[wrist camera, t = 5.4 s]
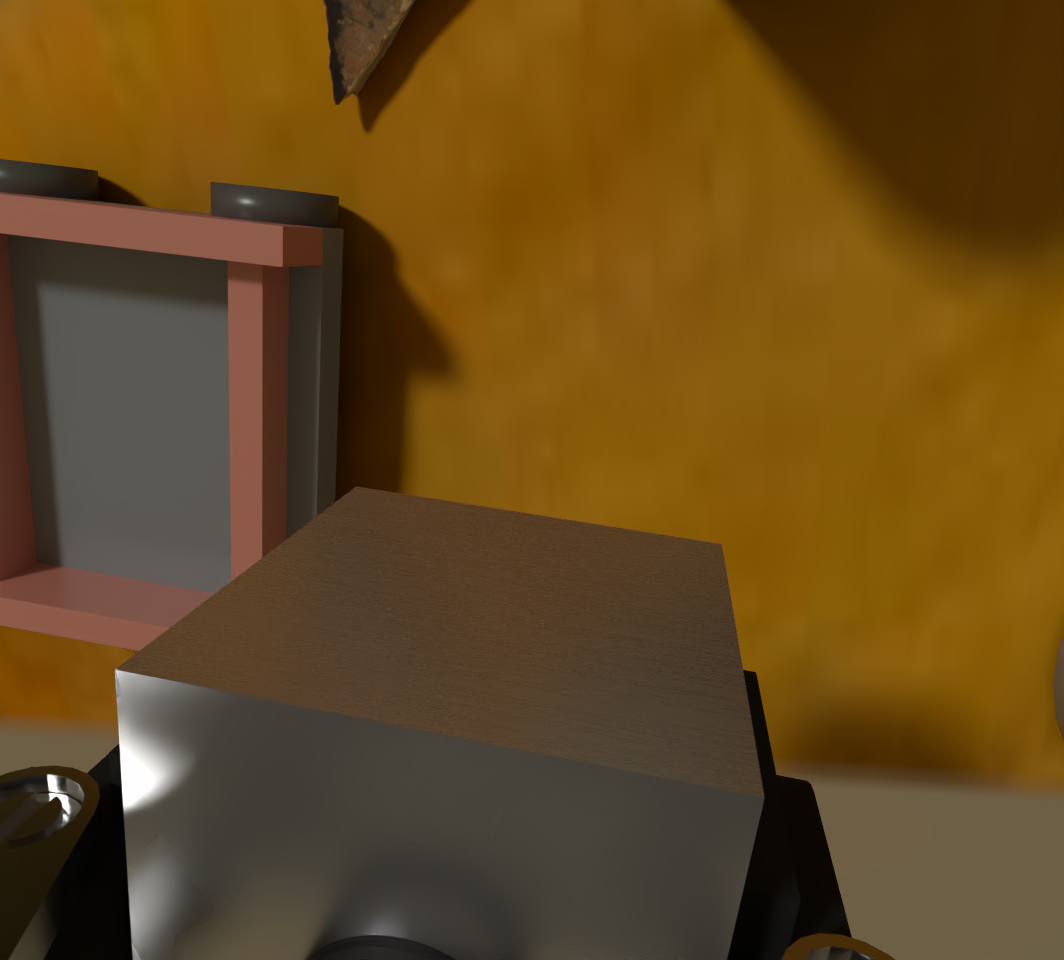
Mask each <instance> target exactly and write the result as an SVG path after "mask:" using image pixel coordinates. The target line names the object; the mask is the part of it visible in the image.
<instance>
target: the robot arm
mask: <svg viewBox="0 0 1064 960" xmlns="http://www.w3.org/2000/svg"><path fill="white" fill-rule="evenodd" d="M743 673H744V679H745V685H746V691H747V697H748V702H749V708H750V714H751V720H752V726H753V732H754V738H755V744H756V750H757V756H758V762H759V768H760V774H761V780H762V786H763V792H764V803H763V807H762V811H761V816H760V820H759V824H758V828H757V833H756V837H755V841H754V846H753V850H752V854H751V858H750V863H749V867H748V871H747V876H746V880H745V884H744V889H743V893H742V897H741V901H740V906H739V910H738V914H737V919H736V923H735V927H734V931H733V936H732V940H731V944H730V949H729V953H728V957H727V960H895V959H893V958H892V957H891V956H890V955H888V954H886V953H884V952H883V951H881V950H879V949H877V948H875V947H873V946H871V945H870V944H868V943H866V942H863V941H860V940H856V939H853V938H852V937H851V933H850V929H849V926H848V921H847V917H846V914H845V910H844V906H843V902H842V898H841V894H840V891H839V887H838V883H837V879H836V875H835V871H834V867H833V863H832V860H831V856H830V852H829V848H828V844H827V840H826V836H825V833H824V829H823V825H822V821H821V817H820V813H819V809H818V806H817V802H816V798H815V794H814V791H813V789H812V786H811V784H810V783H809V782H808V781H805V780H800V779H794V778H789V777H784V776H779V775H776V771H775V766H774V761H773V756H772V751H771V746H770V741H769V736H768V731H767V726H766V720H765V715H764V710H763V705H762V700H761V695H760V690H759V685H758V680H757V675H756V672H752V671H746V670H743ZM1054 696H1055V711H1056V717H1057V720H1058V723H1059V726H1060V729H1061V732H1062V736H1063V739H1064V638H1063V641H1062V643H1061V646H1060V648H1059V653H1058V659H1057V665H1056V671H1055V677H1054ZM0 960H133V957H132V940H131V924H130V907H129V891H128V875H127V858H126V842H125V826H124V809H123V793H122V777H121V760H120V744H118V745H117V746H116V747H115V748H114V749H113V750H112V751H110V752H109V754H108V755H107V756H106V757H105V758H103V759H102V760H101V761H100V762H99V763H98V764H97V765H96V766H95V767H94V768H92V769H91V770H90V771H89V772H88V773H85V772H82V771H80V770H78V769H75V768H71V767H63V766H40V767H30V768H26V769H21V770H17V771H13V772H9V773H6V774H3V775H1V776H0Z"/></svg>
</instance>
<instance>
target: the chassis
mask: <svg viewBox="0 0 1064 960" xmlns="http://www.w3.org/2000/svg"><path fill="white" fill-rule="evenodd" d="M338 211H339V197H336V196H329V195H322V194H314V193H306V192H298V191H289V190H281V189H272V188H263V187H254V186H245V185H235V184H226V183H215V182H211V214H206V213H197V212H188V211H179V210H170V209H161V208H153V207H144V206H135V205H126V204H117V203H108V202H100V201H99V185H98V171H95V170H87V169H80V168H72V167H63V166H55V165H47V164H38V163H30V162H21V161H13V160H4V159H0V625H2V626H8V627H13V628H18V629H24V630H29V631H34V632H40V633H45V634H51V635H56V636H61V637H67V638H72V639H77V640H83V641H88V642H94V643H99V644H104V645H110V646H115V647H120V648H126V649H131V650H137V651H140V650H141V649H143V648H144V647H145V646H147V645H148V644H149V643H151V642H152V641H153V640H155V639H156V638H157V637H158V636H160V635H161V634H162V633H164V632H165V631H166V630H168V629H169V628H170V627H172V626H173V625H174V624H176V623H177V622H178V621H180V620H181V619H182V618H184V617H185V616H186V615H188V614H189V613H190V612H191V611H193V610H194V609H195V608H197V607H198V606H199V605H201V604H202V603H203V602H205V601H206V600H207V599H209V598H210V597H211V596H213V595H214V594H215V593H217V592H218V591H219V590H220V589H222V588H223V587H224V586H226V585H227V584H228V583H230V582H231V581H232V580H234V579H235V578H236V577H238V576H239V575H240V574H242V573H243V572H244V571H246V570H247V569H248V568H249V567H251V566H252V565H253V564H255V563H256V562H257V561H259V560H260V559H261V558H263V557H264V556H265V555H267V554H268V553H269V552H271V551H272V550H273V549H275V548H276V547H277V546H278V545H280V544H281V543H282V542H284V541H285V540H286V539H288V538H289V537H290V536H292V535H293V534H294V533H296V532H297V531H298V530H300V529H301V528H302V527H304V526H305V525H306V524H307V523H309V522H310V521H311V520H313V519H314V518H315V517H317V516H318V515H319V514H321V513H322V512H323V511H325V510H326V509H327V508H329V507H330V506H331V505H333V504H334V503H335V492H336V459H337V427H338V395H339V363H340V331H341V299H342V266H343V234H344V229H338Z"/></svg>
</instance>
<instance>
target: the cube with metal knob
mask: <svg viewBox="0 0 1064 960" xmlns="http://www.w3.org/2000/svg"><path fill="white" fill-rule="evenodd" d="M115 679H116V695H117V711H118V728H119V744H120V760H121V777H122V793H123V809H124V826H125V842H126V858H127V875H128V891H129V907H130V924H131V940H132V957H133V960H727V957H728V953H729V949H730V944H731V940H732V936H733V931H734V927H735V923H736V919H737V914H738V910H739V906H740V901H741V897H742V893H743V889H744V884H745V880H746V876H747V871H748V867H749V863H750V858H751V854H752V850H753V846H754V841H755V837H756V833H757V828H758V824H759V820H760V816H761V811H762V807H763V803H764V792H763V786H762V780H761V774H760V768H759V762H758V756H757V750H756V744H755V738H754V732H753V726H752V720H751V714H750V708H749V702H748V697H747V691H746V685H745V679H744V673H743V667H742V661H741V655H740V649H739V643H738V637H737V631H736V625H735V619H734V613H733V607H732V601H731V596H730V590H729V584H728V578H727V572H726V566H725V560H724V554H723V548H722V544H718V543H712V542H705V541H699V540H693V539H686V538H680V537H674V536H667V535H661V534H655V533H648V532H642V531H636V530H629V529H623V528H617V527H610V526H604V525H598V524H591V523H585V522H579V521H572V520H566V519H560V518H553V517H547V516H541V515H534V514H528V513H522V512H515V511H509V510H503V509H496V508H490V507H484V506H477V505H471V504H465V503H458V502H452V501H446V500H439V499H433V498H427V497H420V496H414V495H407V494H401V493H395V492H388V491H382V490H376V489H369V488H363V487H357V486H356V487H355V488H354V489H352V490H351V491H350V492H348V493H347V494H346V495H344V496H343V497H342V498H340V499H339V500H338V501H336V502H335V503H334V504H333V505H331V506H330V507H329V508H327V509H326V510H325V511H323V512H322V513H321V514H319V515H318V516H317V517H315V518H314V519H313V520H311V521H310V522H309V523H307V524H306V525H305V526H304V527H302V528H301V529H300V530H298V531H297V532H296V533H294V534H293V535H292V536H290V537H289V538H288V539H286V540H285V541H284V542H282V543H281V544H280V545H278V546H277V547H276V548H275V549H273V550H272V551H271V552H269V553H268V554H267V555H265V556H264V557H263V558H261V559H260V560H259V561H257V562H256V563H255V564H253V565H252V566H251V567H249V568H248V569H247V570H246V571H244V572H243V573H242V574H240V575H239V576H238V577H236V578H235V579H234V580H232V581H231V582H230V583H228V584H227V585H226V586H224V587H223V588H222V589H220V590H219V591H218V592H217V593H215V594H214V595H213V596H211V597H210V598H209V599H207V600H206V601H205V602H203V603H202V604H201V605H199V606H198V607H197V608H195V609H194V610H193V611H191V612H190V613H189V614H188V615H186V616H185V617H184V618H182V619H181V620H180V621H178V622H177V623H176V624H174V625H173V626H172V627H170V628H169V629H168V630H166V631H165V632H164V633H162V634H161V635H160V636H158V637H157V638H156V639H155V640H153V641H152V642H151V643H149V644H148V645H147V646H145V647H144V648H143V649H141V650H140V651H139V652H137V653H136V654H135V655H133V656H132V657H131V658H129V659H128V660H127V661H126V662H124V663H123V664H122V665H120V666H119V667H118V668H116V669H115Z"/></svg>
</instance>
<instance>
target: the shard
mask: <svg viewBox="0 0 1064 960" xmlns="http://www.w3.org/2000/svg"><path fill="white" fill-rule="evenodd" d="M415 1H416V0H323V3H324V6H325V12H326V21H327V26H328V40H329V46H330V53H329V67H328V68H329V71H330V76H331V80H332V85H333V93H334V101H335V104H336V105H339V104H340V103H341V102H342V101H343V99H345V98H347V97H348V96H350V95H351V94H352V93H353V94H354V95H358V94H359V92H360V91H361V90H362V88H363V87H364V85H365V83H366V80H367V79H368V77H369V76H370V74H371V73H372V72H373V71H374V69H375V67H376V66H377V64H378V63H379V61H380V60H381V59H382V58H383V56H384V55H385V53H386V51H387V50H388V48H389V47H390V45H391V43H392V41H393V39H394V37H395V36H396V34H397V32H398V30H399V28H400V26H401V24H402V22H403V21H404V19H405V18H406V17H407V15H408V13H409V11H410V9H411V7H412V6H413V4H414V2H415Z"/></svg>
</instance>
